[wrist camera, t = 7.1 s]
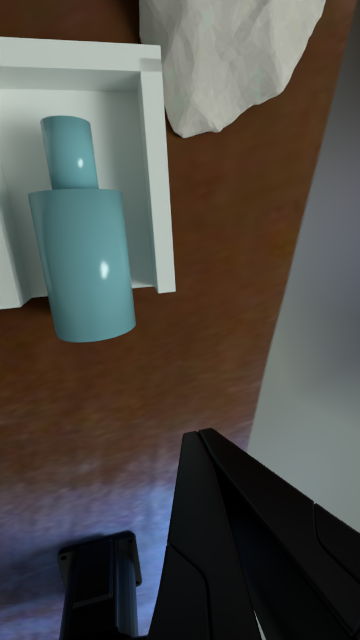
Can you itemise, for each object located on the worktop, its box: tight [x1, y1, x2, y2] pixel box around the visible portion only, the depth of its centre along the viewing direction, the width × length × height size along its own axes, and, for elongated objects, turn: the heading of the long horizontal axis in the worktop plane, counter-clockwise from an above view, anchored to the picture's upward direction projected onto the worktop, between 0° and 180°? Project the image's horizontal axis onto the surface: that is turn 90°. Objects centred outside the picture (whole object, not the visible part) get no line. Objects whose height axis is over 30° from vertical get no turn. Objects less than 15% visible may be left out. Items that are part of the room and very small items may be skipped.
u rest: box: [0, 37, 175, 309], centre depth 16 cm, size 12×9×3 cm
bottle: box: [28, 115, 136, 342], centre depth 15 cm, size 4×4×10 cm
